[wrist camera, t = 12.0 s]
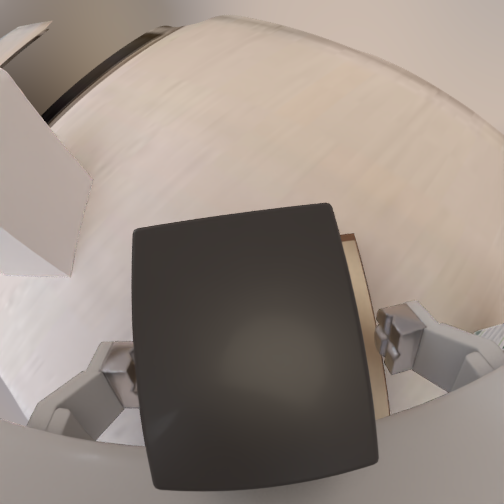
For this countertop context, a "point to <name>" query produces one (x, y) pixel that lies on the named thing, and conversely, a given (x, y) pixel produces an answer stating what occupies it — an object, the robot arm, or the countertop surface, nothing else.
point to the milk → (36, 191)
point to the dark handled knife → (249, 351)
